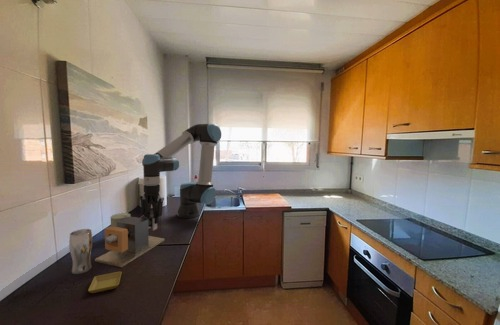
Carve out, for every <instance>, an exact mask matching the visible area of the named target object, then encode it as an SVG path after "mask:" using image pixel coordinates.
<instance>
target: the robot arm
mask: <svg viewBox="0 0 500 325" xmlns="http://www.w3.org/2000/svg"><path fill="white" fill-rule="evenodd" d="M221 139H222V130H221V128H220V126H219V125H218V124H217V123H197V124H193V125H192V126H190V127H188V128H187V129H185V130H184V131H182V133H181V135H180V136H177V137H176V138H175V139H173V140H172V141H171V142H169V143H168V144H166V145H165V146H163V147H162V148H161V149H159V150H158V151H157V152H155V153H149V154H148V153H147V154H144V156H143V158H142V161H141V163H142V166H143V169H142V170H143V193H144V194H143V195H140V196H139V200H140V206H141V207H140V208H141V215H142V216H144V217H145V218H144V219H147V216H149V215H152V214H151V210H152V213H153V215H154V217H153V218H152V227H149V226H148V230H149V229H151V228H152V229H151V230H152V231H156V230H158V224H159V217H161V216H163V204H164V200H165V198H164V197H161V196H160V189H161V186H160V183H161V180H160V179H161V175H160V174H161V173H163V172H174V171H177V170H178V169H179V167H180V161H179V159H178V158H176V157H174V156H175V155H176V154H178V153H179V152H180V151H182V150H183V149H184V148H186V147H187V146H189V145H190V144H193V143H196V142H199V143H200V145H201V148H200V159H199V168H198V169H199V170H198V179H197V181H195V182H194V181H193V182H192V181H191V182H184V183H181V184H180V186H179V206H178V209H177V213H176V214H177V215H176V216H177V217H178V218H181V219H192V218H196V217H198V216H200V210H199V209H200V208H199V206H198V204H201V205H211V204H212V203H213V201H214V200H215V199H216V195H217V190H216V188H215V187H214V183H213V182H212V177H213V168H214V166H213V165H214V156H215V147H216V146H218V142H219V141H220V140H221ZM151 208H152V209H151Z"/></svg>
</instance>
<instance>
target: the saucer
mask: <svg viewBox="0 0 500 325" xmlns="http://www.w3.org/2000/svg"><path fill="white" fill-rule="evenodd" d="M122 274H123V272H122V271H115V272H110V273H105V274H100V275H95V276H94V277H93V278H92V281H91V284H90V285H89V287H88V289H87V292H89V293H91V294H96V293H100V292H104V291H105V292H106V291H110V290H114V289H116V288H118V286H119V285H120V282H121V277H122Z"/></svg>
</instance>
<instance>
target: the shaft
mask: <svg viewBox="0 0 500 325" xmlns="http://www.w3.org/2000/svg"><path fill="white" fill-rule="evenodd" d="M153 217H154V215H153V214H151V215H149V216H147V219H148V226H149V227H151V228H152V218H153ZM128 235H129V229H128ZM116 240H118V236H117V235H111V236H108V237H106V238H105V237H104V243H105V242H106V243H107V244H109V243H112V242H114V241H115V242H117V241H116Z"/></svg>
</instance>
